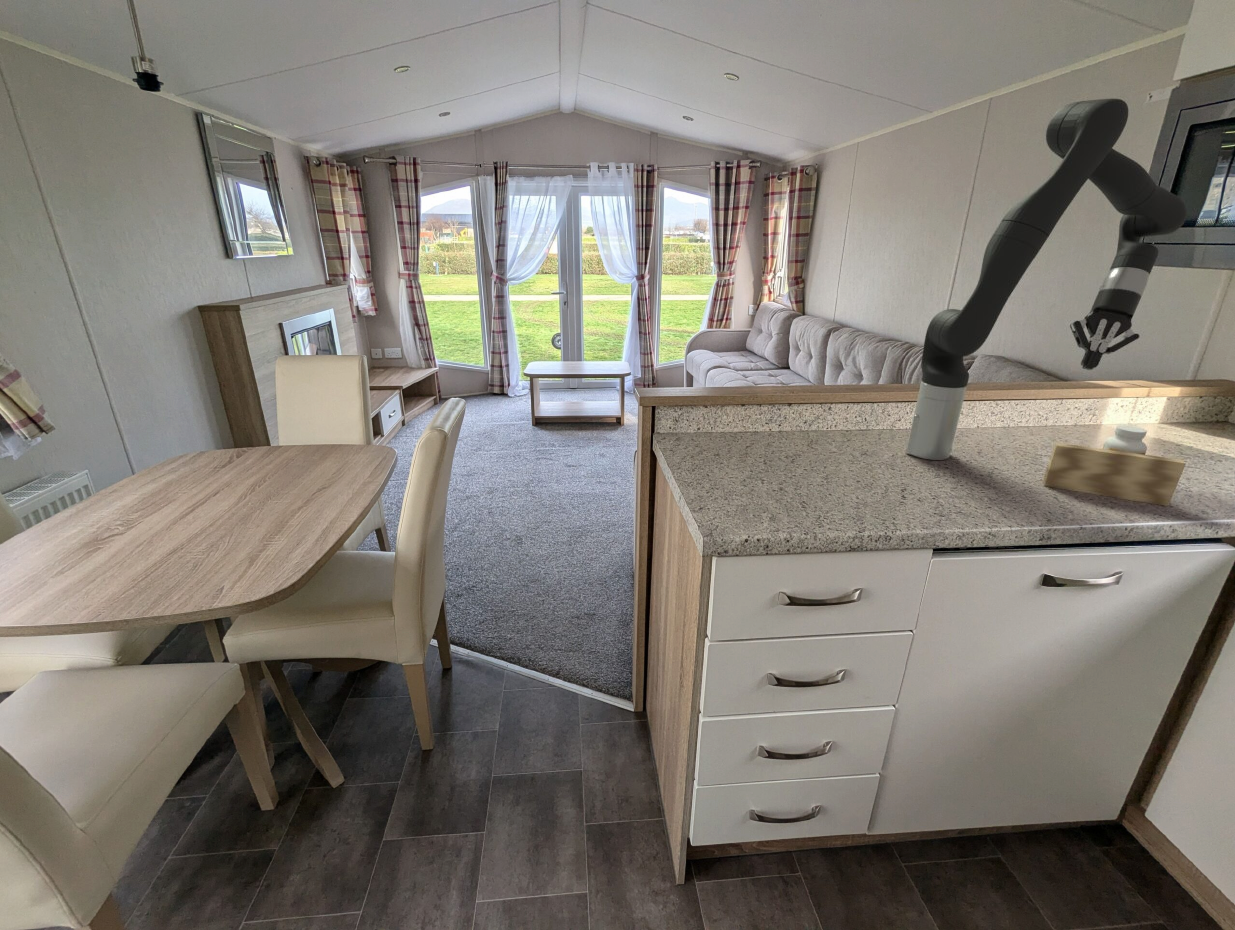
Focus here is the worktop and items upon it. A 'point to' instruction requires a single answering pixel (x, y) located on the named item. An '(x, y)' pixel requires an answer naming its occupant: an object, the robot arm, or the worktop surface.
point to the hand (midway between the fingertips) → (1087, 368)
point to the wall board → (1113, 473)
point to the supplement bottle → (1127, 440)
